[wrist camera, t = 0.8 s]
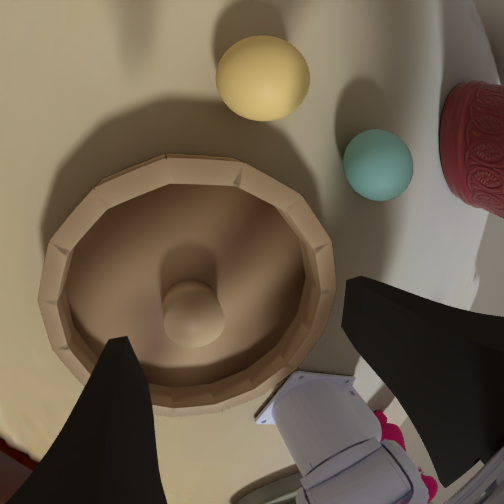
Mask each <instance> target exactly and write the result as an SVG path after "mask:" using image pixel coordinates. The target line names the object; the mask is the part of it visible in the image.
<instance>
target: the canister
mask: <svg viewBox="0 0 504 504" xmlns="http://www.w3.org/2000/svg"><path fill="white" fill-rule="evenodd" d="M440 155H441V163H442V168H443V173H444V176H445V179H446V182H447V184H448V187H449V188H450V190H451V191H452V193H453V194H454V195H455V196H456V197H458V198H460V199H461V200H462V201H463V202H465V203H466V204H468V205H471V206H473V207H475V208H482V209H484V210H486V211H488V212H491V213H493V214H495V215H497V216H500V217H502V218H504V86H503V85H496V84H489V83H487V82H484V81H470V82H466V83H460V84H458V85H457V86H455V87H454V89H453V90H452V91H451V93H450V94H449V96H448V98H447V101H446V103H445V106H444V110H443V114H442V120H441V128H440Z"/></svg>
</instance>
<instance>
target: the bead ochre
mask: <svg viewBox="0 0 504 504" xmlns="http://www.w3.org/2000/svg"><path fill="white" fill-rule="evenodd" d="M309 84H310V73H309V68H308V65H307V63H306V61H305V59H304V57H303V55H302V54H301V53H300V52H299V51H298V50H297V49H296V48H295V47H294V46H293V45H292V44H290V43H288V42H287V41H285V40H283V39H280V38H277V37H274V36H267V35H257V36H251V37H247V38H244V39H242V40H240V41H238V42H236V43H235V44H233V45H232V46H231V47H230V48H229V49H228V50H227V51H226V52H225V53H224V54H223V56H222V57H221V59H220V61H219V64H218V66H217V71H216V85H217V89H218V92H219V95H220V96H221V98H222V100H223V101H224V103H225V104H226V105H227V106H228V107H229V108H230V109H231V110H232V111H233V112H235V113H236V114H238V115H240V116H242V117H244V118H247V119H250V120H255V121H271V120H277V119H280V118H283V117H285V116H287V115H289V114H290V113H292V112H293V111H294V110H296V109H297V108H298V107H299V105H300V104H301V103H302V102H303V100H304V99H305V97H306V95H307V92H308V89H309Z"/></svg>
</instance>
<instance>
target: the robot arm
mask: <svg viewBox="0 0 504 504" xmlns="http://www.w3.org/2000/svg"><path fill="white" fill-rule="evenodd" d="M341 327H342V328H343V330H344V332H345V333H346V335H347V337H348V338H349V340H350V341H351V343H352V344H353V346H354V347H355V349H356V350H357V351H358V353H359V354H360V355H361V356H362V357H363V358H364V360H365V361H366V362H367V363H368V364H369V366H370V367H371V368H372V369H373V370H374V371H375V372H376V374H377V375H378V376H379V377H380V378H381V379H382V381H383V382H384V383H385V384H386V385H387V386H388V388H389V389H390V390H391V391H392V393H393V394H394V395H395V396H396V398H397V399H398V401H399V402H400V404H401V405H402V407H403V408H404V410H405V411H406V413H407V415H408V416H409V418H410V420H411V421H412V423H413V425H414V426H415V428H416V430H417V432H418V433H419V435H420V437H421V439H422V441H423V443H424V445H425V447H426V449H427V451H428V453H429V456H430V458H431V460H432V463H433V465H434V468H435V470H436V473H437V476H438V478H439V481H440V482H441V484H442V485H443V486H444V487H445V488H446V487H448V486H449V485H450V484H452V483H453V482H454V481H456V480H457V479H458V478H460V477H461V476H462V475H463V474H464V473H466V472H467V471H468V470H469V469H471V468H472V467H473V466H474V465H475V464H476V463H477V462H478V461H479V460H481V461H482V462H483V463H484V466H483V467H482V468H481V469H480V470H479V472H477V473H476V474H475V475H474V476H473V477H472V478H471V479H470V480H469V481H468V482H467V483H466V484H465V485H464V486H463V487H462V488H461V489H460V490H458V491H457V493H455V494H454V495H453V496H452V497H451V498H449V499H448V500H447V501H446V502H444V504H504V317H501V316H493V315H486V314H481V313H475V312H471V311H467V310H462V309H458V308H454V307H451V306H447V305H444V304H441V303H438V302H435V301H432V300H429V299H426V298H423V297H420V296H417V295H415V294H412V293H409V292H406V291H404V290H401V289H398V288H396V287H393V286H390V285H388V284H385V283H382V282H379V281H376V280H373V279H370V278H367V277H363V276H359V277H355V278H352V279H349V280H347V281H346V291H345V300H344V309H343V317H342V325H341ZM355 381H356V378H355V377H354V376H342V375H332V374H322V373H313V372H305V371H295V372H293V373H292V374H291V376H290V377H289V378H288V379H287V381H286V382H285V383H284V385H283V386H282V387H281V388H280V389H279V391H278V392H277V393H276V394H275V396H274V397H273V398H272V399H271V400H270V402H269V403H268V404H267V405H266V406H265V408H264V409H263V410H262V411H261V412H260V414H259V415H258V416H257V417H256V418H255V420H254V421H255V423H256V424H276V426H277V428H278V430H279V432H280V434H281V436H282V438H283V440H284V442H285V444H286V446H287V448H288V450H289V451H290V453H291V455H292V457H293V459H294V461H295V463H296V465H297V467H298V469H299V471H300V473H301V474H302V476H303V478H301V479H300V481H301V483H302V485H303V487H301V488H299V489H298V491H297V495H296V504H427V502H428V499H429V494H428V488H427V487H426V485H425V484H424V482H423V481H422V479H421V475H420V473H419V471H418V469H417V467H416V465H415V464H414V462H413V461H412V459H411V458H410V457H409V455H408V454H407V453H406V452H405V450H404V449H403V448H402V447H401V446H400V445H399V444H398V443H397V442H395V441H393V440H387V439H384V440H383V441H381V436H382V430H381V425H380V422H379V420H378V418H377V417H376V416H375V414H374V413H373V412H372V411H371V409H370V408H369V407H368V405H367V404H366V403H365V402H364V400H363V399H362V398H361V396H360V395H359V394H358V392H357V391H356V390H355V389H354V387H353V386H352V385H353V384H354V383H355ZM380 441H381V442H380ZM484 491H485V494H484V495H483V496H481V497H480V495H481V494H482V493H483V492H484ZM479 497H480V498H479ZM5 504H167V501H166V497H165V494H164V490H163V487H162V483H161V478H160V473H159V467H158V459H157V450H156V440H155V429H154V417H153V407H152V401H151V395H150V390H149V385H148V380H147V378H146V376H145V374H144V372H143V370H142V367H141V365H140V363H139V361H138V359H137V357H136V354H135V352H134V350H133V348H132V345H131V343H130V341H129V339H128V336H123V337H118V338H112V339H109V340H108V341H107V343H106V345H105V347H104V349H103V351H102V353H101V355H100V357H99V359H98V361H97V363H96V365H95V367H94V369H93V371H92V373H91V375H90V377H89V379H88V381H87V383H86V385H85V387H84V389H83V391H82V393H81V395H80V397H79V399H78V401H77V403H76V405H75V406H74V408H73V410H72V412H71V414H70V416H69V418H68V419H67V421H66V423H65V425H64V426H63V428H62V430H61V432H60V433H59V435H58V436H57V438H56V439H55V441H54V443H53V444H52V446H51V447H50V449H49V450H48V452H47V453H46V454H45V456H44V457H43V458H42V460H41V461H40V463H39V464H38V465H37V467H36V468H35V469H34V471H33V472H32V473H31V475H30V476H29V477H28V479H27V480H26V481H25V482H24V483H23V485H22V486H21V487H20V488H19V489H18V490H17V491H16V493H15V494H14V495H13V496H12V497H11V498H10V499H9V500H8V501H7V502H6V503H5Z"/></svg>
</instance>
